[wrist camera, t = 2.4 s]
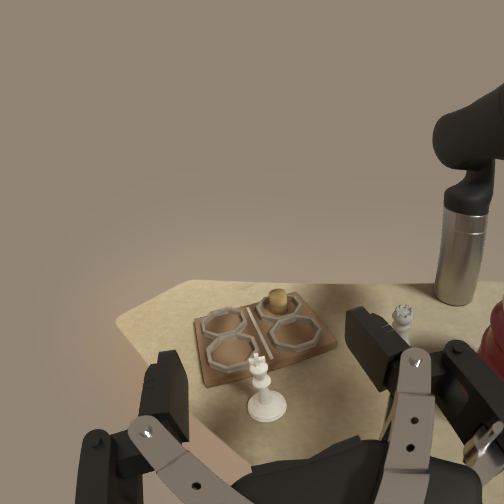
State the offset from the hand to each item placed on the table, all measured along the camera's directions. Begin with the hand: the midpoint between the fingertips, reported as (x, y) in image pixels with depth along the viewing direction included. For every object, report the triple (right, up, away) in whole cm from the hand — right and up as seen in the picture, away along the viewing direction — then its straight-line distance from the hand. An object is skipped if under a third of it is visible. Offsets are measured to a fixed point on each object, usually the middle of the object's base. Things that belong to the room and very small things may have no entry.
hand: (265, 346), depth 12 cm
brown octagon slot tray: (+1, -10, +32) cm, 33 cm away
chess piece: (+1, -15, +19) cm, 24 cm away
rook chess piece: (+20, -11, +22) cm, 32 cm away
